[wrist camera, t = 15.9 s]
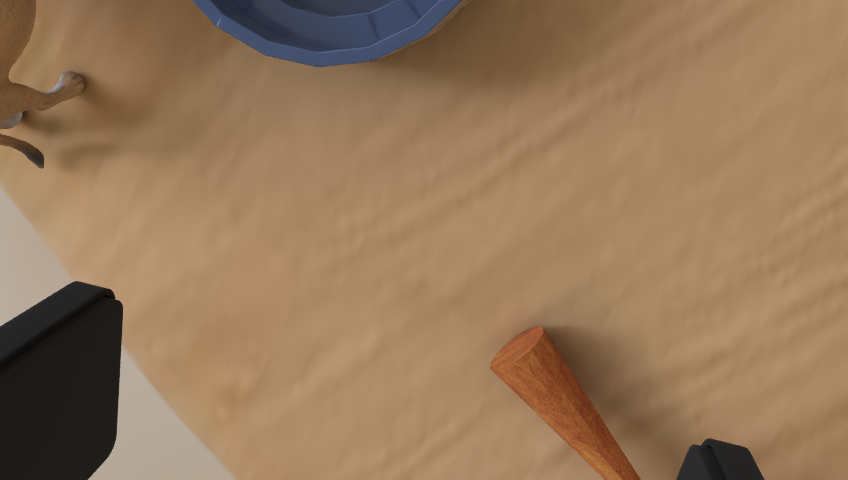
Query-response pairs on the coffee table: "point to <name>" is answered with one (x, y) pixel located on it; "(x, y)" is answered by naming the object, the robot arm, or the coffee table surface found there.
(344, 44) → the bowl
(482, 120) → the coffee table surface
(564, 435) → the maraca
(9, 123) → the tan animal figure
